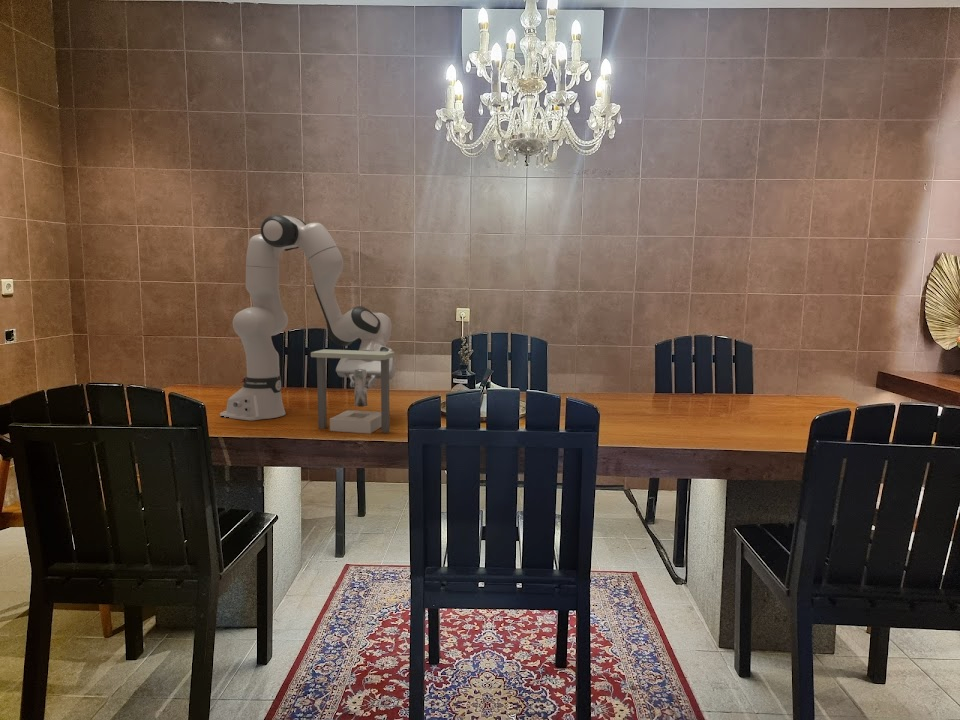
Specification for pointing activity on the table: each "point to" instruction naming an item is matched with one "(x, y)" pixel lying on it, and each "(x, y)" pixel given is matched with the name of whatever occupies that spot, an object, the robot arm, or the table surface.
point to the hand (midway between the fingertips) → (360, 386)
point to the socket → (356, 421)
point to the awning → (353, 355)
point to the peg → (360, 387)
